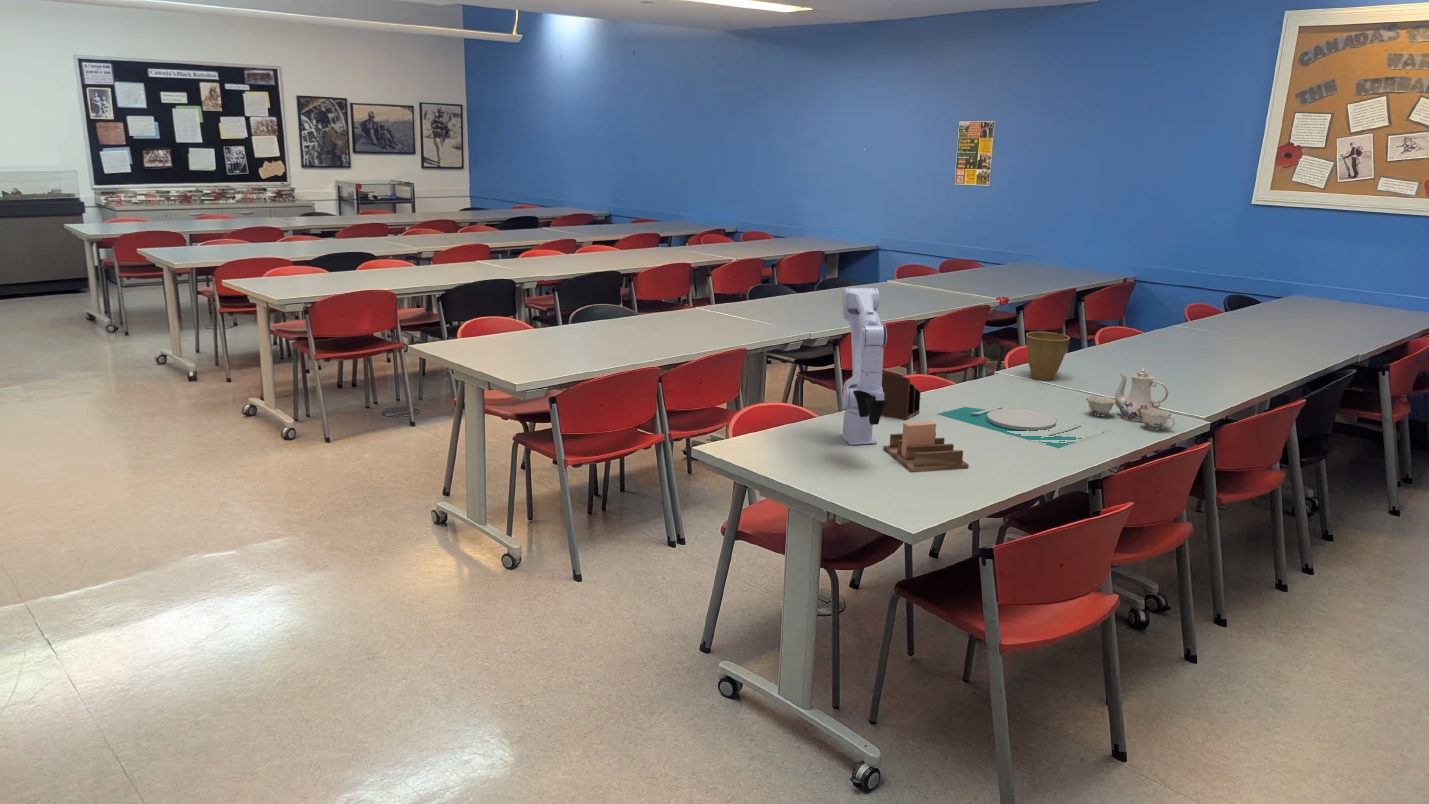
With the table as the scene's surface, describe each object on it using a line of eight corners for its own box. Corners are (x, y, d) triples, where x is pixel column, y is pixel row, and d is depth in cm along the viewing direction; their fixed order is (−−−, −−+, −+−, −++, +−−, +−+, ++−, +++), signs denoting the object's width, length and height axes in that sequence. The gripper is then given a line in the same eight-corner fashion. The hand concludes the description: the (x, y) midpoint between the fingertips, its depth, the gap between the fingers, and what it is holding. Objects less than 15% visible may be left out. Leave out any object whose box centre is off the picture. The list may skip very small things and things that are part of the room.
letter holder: (906, 421, 281) (909, 376, 277) (848, 410, 292) (850, 367, 288) (919, 413, 289) (922, 370, 285) (862, 403, 300) (864, 361, 296)
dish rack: (883, 449, 254) (884, 433, 253) (937, 445, 257) (938, 430, 256) (911, 471, 236) (912, 455, 235) (968, 468, 239) (969, 451, 238)
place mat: (930, 416, 289) (930, 409, 288) (988, 401, 307) (989, 394, 306) (1059, 452, 254) (1060, 444, 254) (1116, 433, 273) (1117, 426, 272)
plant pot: (1021, 381, 330) (1026, 337, 326) (1022, 372, 344) (1026, 330, 340) (1065, 384, 326) (1070, 340, 322) (1064, 375, 340) (1069, 333, 335)
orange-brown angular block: (901, 454, 246) (903, 422, 244) (928, 452, 248) (930, 420, 245) (906, 458, 243) (908, 425, 241) (933, 456, 245) (935, 424, 243)
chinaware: (1075, 420, 289) (1079, 370, 283) (1100, 405, 299) (1104, 356, 294) (1167, 440, 269) (1172, 387, 264) (1190, 424, 280) (1195, 372, 274)
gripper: (847, 365, 247) (845, 414, 250) (866, 377, 233) (864, 428, 236) (872, 364, 248) (869, 412, 251) (892, 376, 234) (890, 427, 238)
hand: (868, 420), depth 244 cm, fingers open, 7 cm apart
